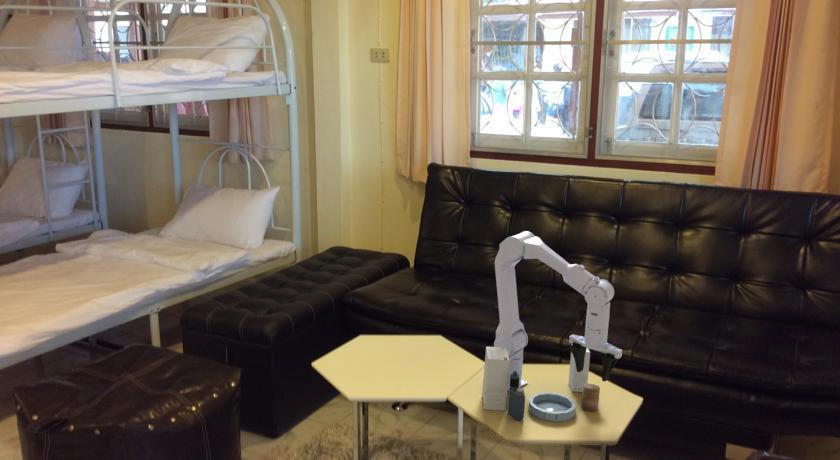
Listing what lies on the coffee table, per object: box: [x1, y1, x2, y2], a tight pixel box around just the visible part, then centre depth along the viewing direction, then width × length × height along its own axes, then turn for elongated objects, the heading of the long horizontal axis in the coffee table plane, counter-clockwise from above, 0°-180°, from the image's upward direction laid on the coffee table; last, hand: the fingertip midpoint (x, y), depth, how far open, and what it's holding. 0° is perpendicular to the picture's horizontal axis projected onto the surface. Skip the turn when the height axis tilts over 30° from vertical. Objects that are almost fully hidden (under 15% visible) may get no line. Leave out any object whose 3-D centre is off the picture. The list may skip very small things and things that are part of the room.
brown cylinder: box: [580, 383, 601, 413], centre depth 190 cm, size 4×4×6 cm
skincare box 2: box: [568, 344, 591, 393], centre depth 201 cm, size 6×4×12 cm
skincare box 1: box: [481, 346, 510, 411], centre depth 189 cm, size 8×6×15 cm
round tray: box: [528, 391, 577, 423], centre depth 188 cm, size 12×12×2 cm
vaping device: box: [507, 371, 526, 422], centre depth 183 cm, size 3×5×12 cm, turn 27°
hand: (592, 375), depth 188 cm, fingers open, 7 cm apart
